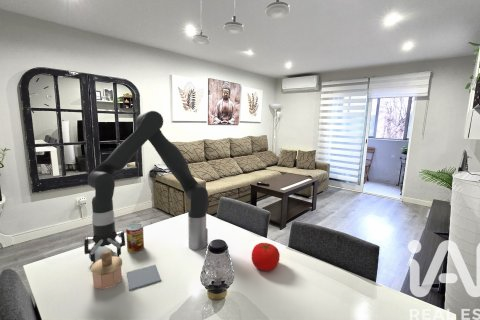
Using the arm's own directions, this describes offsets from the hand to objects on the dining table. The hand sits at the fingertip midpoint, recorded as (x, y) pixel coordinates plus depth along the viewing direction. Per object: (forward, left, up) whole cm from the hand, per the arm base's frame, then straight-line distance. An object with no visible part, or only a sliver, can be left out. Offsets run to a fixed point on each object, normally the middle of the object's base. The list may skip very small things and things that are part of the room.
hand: (106, 258), depth 96 cm
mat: (-13, +5, -10) cm, 17 cm away
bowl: (0, 0, -10) cm, 10 cm away
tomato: (-63, +23, -10) cm, 68 cm away
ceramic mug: (+1, -16, -10) cm, 19 cm away
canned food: (-13, -21, -10) cm, 27 cm away
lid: (0, 0, -4) cm, 4 cm away
